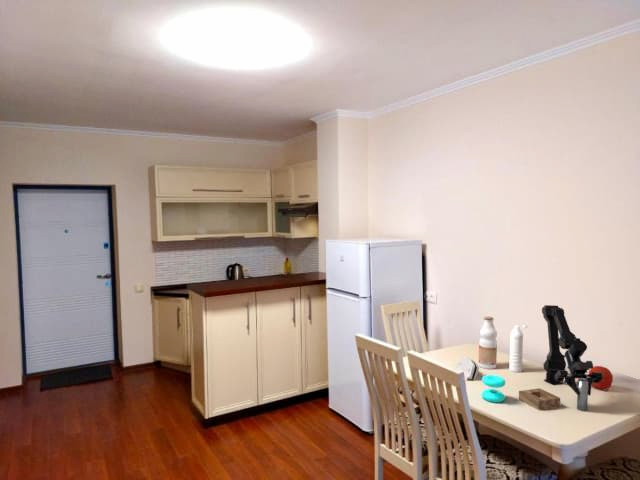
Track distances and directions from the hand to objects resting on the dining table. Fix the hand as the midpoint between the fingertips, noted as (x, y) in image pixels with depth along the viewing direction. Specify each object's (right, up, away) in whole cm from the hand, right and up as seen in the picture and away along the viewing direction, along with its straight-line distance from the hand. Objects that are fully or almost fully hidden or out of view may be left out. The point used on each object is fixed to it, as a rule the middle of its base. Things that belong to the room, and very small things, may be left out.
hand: (584, 394), depth 199 cm
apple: (+23, -6, +27) cm, 36 cm away
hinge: (-37, -5, +44) cm, 58 cm away
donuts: (-35, -6, +13) cm, 38 cm away
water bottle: (-7, -4, +52) cm, 53 cm away
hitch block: (-16, -7, +8) cm, 19 cm away
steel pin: (0, -7, +2) cm, 7 cm away
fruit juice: (-21, -4, +58) cm, 62 cm away
